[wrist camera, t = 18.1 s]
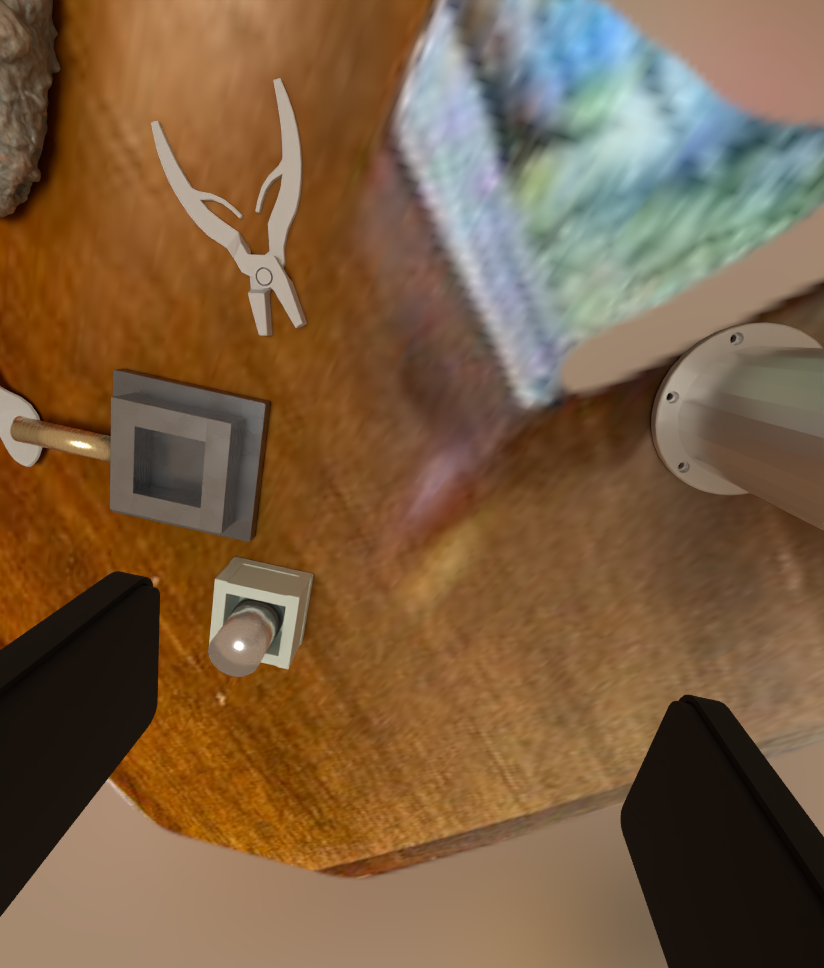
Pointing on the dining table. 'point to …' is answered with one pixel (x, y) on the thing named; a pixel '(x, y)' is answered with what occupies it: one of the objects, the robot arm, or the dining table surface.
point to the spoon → (3, 410)
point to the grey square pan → (173, 452)
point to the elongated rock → (23, 94)
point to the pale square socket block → (266, 587)
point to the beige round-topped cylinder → (246, 636)
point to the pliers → (270, 266)
